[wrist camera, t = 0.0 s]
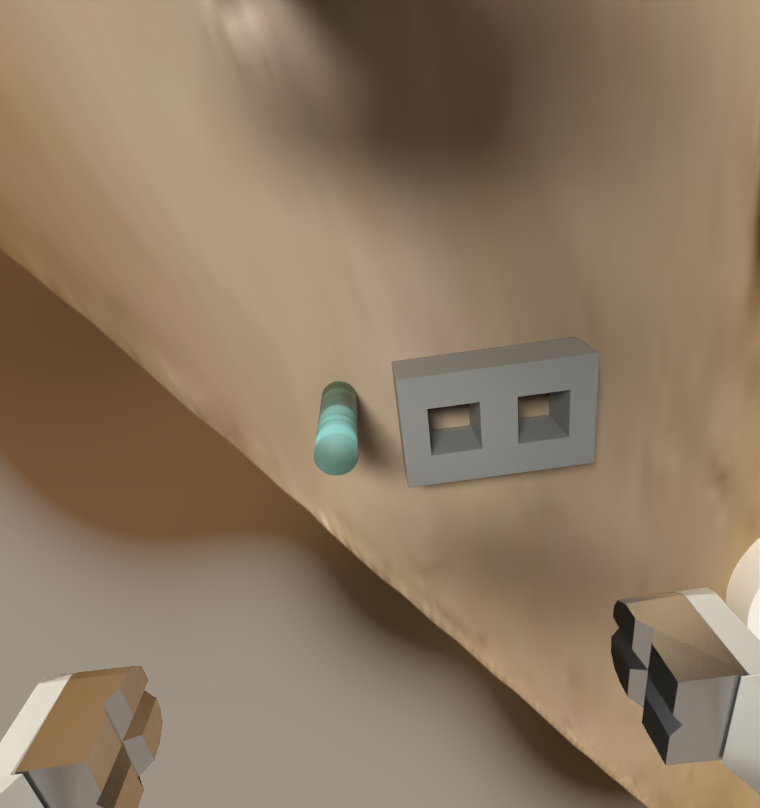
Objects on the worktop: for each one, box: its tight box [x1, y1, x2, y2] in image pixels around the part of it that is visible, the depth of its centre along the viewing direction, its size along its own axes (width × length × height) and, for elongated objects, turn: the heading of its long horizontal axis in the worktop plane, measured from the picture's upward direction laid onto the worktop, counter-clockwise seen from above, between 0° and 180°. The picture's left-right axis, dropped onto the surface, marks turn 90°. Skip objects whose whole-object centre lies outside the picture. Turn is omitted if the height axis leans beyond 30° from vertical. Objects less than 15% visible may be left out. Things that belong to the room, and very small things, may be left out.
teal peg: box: [314, 382, 358, 475], centre depth 52 cm, size 4×4×14 cm
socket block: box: [392, 337, 599, 488], centre depth 57 cm, size 13×21×6 cm, turn 97°
